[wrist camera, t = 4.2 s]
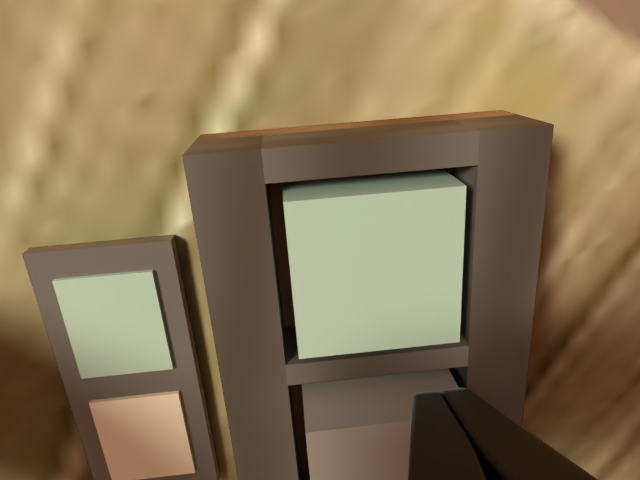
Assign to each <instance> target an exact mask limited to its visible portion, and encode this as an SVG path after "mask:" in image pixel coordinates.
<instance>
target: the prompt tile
mask: <svg viewBox="0 0 640 480" xmlns="http://www.w3.org/2000/svg"><path fill="white" fill-rule="evenodd" d="M22 255H23V258H24V262H25V265H26V268H27V271H28V274H29V277H30V280H31V284H32V287H33V290H34V293H35V296H36V299H37V303H38V306H39V309H40V312H41V315H42V318H43V321H44V325H45V328H46V331H47V334H48V337H49V340H50V343H51V347H52V350H53V353H54V356H55V359H56V362H57V366H58V369H59V372H60V375H61V378H62V381H63V384H64V388H65V391H66V394H67V397H68V400H69V403H70V406H71V410H72V413H73V416H74V419H75V422H76V425H77V428H78V432H79V435H80V438H81V441H82V444H83V447H84V451H85V454H86V457H87V460H88V463H89V466H90V469H91V473H92V476H93V479H94V480H219V477H220V474H219V468H218V463H217V458H216V453H215V447H214V442H213V437H212V432H211V426H210V421H209V416H208V411H207V405H206V400H205V395H204V390H203V384H202V379H201V374H200V369H199V363H198V358H197V353H196V348H195V342H194V337H193V332H192V327H191V321H190V316H189V311H188V306H187V300H186V295H185V290H184V285H183V279H182V274H181V269H180V264H179V258H178V253H177V248H176V243H175V237H174V235H165V236H154V237H143V238H132V239H121V240H111V241H100V242H89V243H78V244H67V245H56V246H45V247H34V248H29V249H28V250H27V251H25V252H24V253H23V254H22Z"/></svg>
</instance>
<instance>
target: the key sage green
mask: <svg viewBox="0 0 640 480" xmlns="http://www.w3.org/2000/svg"><path fill="white" fill-rule="evenodd" d="M282 186H283V206H284V216H285V226H286V236H287V246H288V256H289V266H290V276H291V286H292V296H293V306H294V316H295V326H296V336H297V346H298V356H299V359H305V358H314V357H324V356H333V355H343V354H352V353H362V352H371V351H380V350H390V349H399V348H409V347H418V346H428V345H437V344H447V343H456V342H460V325H461V302H462V279H463V256H464V232H465V209H466V185H465V184H463V183H462V182H461V181H459V180H458V179H456V178H455V177H454V176H452V175H451V174H450V173H448V172H447V171H445V170H444V169H443V168H441V169H429V170H418V171H407V172H395V173H384V174H372V175H361V176H349V177H338V178H326V179H315V180H303V181H292V182H282Z"/></svg>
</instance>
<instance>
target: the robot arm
mask: <svg viewBox="0 0 640 480" xmlns="http://www.w3.org/2000/svg"><path fill="white" fill-rule="evenodd" d="M408 480H598V479H596V478H595V477H593V476H592V475H590V474H589V473H588V472H586V471H585V470H583V469H582V468H580V467H579V466H578V465H576V464H575V463H573V462H572V461H570V460H569V459H568V458H566V457H565V456H563V455H562V454H560V453H559V452H558V451H556V450H555V449H553V448H552V447H550V446H549V445H548V444H546V443H545V442H543V441H542V440H540V439H539V438H538V437H536V436H535V435H533V434H532V433H530V432H529V431H528V430H526V429H525V428H523V427H522V426H520V425H519V424H518V423H516V422H515V421H513V420H512V419H510V418H509V417H508V416H506V415H505V414H503V413H502V412H500V411H499V410H498V409H496V408H495V407H493V406H492V405H491V404H489V403H488V402H486V401H485V400H483V399H482V398H481V397H479V396H478V395H476V394H475V393H473V392H472V391H471V390H469V389H467V388H454V389H445V390H442V391H441V392H438V391H427V392H418V393H415V394H414V395H413V403H412V419H411V436H410V452H409V468H408Z"/></svg>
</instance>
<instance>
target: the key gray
mask: <svg viewBox="0 0 640 480" xmlns="http://www.w3.org/2000/svg"><path fill="white" fill-rule="evenodd" d="M454 388H459V387H458V385H457V384H456V382H455V380H454V378H453V376H452V374H451V372H450V371H449V369H440V370H431V371H422V372H412V373H403V374H394V375H385V376H375V377H366V378H357V379H348V380H339V381H329V382H320V383H311V384H302V393H303V407H304V420H305V433H306V443H307V453H308V463H309V473H310V480H408V468H409V452H410V436H411V419H412V403H413V395H414V394H415V393H418V392H427V391H438V392H441V391H442V390H445V389H454Z"/></svg>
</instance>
